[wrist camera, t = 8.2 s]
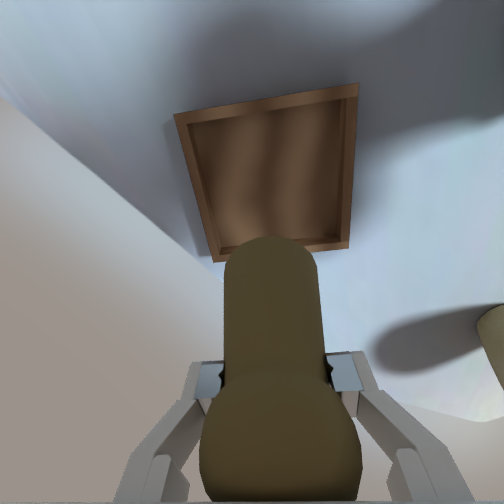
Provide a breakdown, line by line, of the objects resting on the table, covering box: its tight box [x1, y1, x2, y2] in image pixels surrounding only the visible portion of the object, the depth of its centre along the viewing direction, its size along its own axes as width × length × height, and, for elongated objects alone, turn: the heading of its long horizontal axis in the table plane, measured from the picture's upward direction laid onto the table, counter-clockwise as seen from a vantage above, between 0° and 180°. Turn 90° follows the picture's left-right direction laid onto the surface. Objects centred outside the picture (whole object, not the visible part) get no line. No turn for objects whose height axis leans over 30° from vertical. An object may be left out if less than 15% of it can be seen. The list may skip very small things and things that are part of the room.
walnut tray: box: [173, 83, 359, 263], centre depth 28 cm, size 17×17×3 cm
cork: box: [199, 236, 363, 502], centre depth 12 cm, size 6×6×11 cm
